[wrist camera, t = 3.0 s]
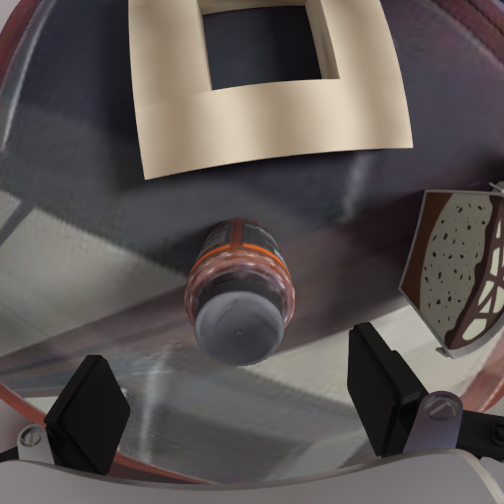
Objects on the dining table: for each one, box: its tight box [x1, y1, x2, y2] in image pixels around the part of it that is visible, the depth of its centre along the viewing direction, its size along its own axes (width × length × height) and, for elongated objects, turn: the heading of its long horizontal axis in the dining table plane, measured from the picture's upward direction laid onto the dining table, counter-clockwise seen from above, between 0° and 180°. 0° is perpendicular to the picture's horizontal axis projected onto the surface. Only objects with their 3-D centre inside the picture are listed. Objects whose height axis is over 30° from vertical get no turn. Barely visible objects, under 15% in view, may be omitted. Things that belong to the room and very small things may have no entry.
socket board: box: [129, 0, 413, 180], centre depth 17 cm, size 18×18×4 cm
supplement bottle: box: [184, 218, 295, 366], centre depth 18 cm, size 6×6×11 cm
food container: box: [398, 183, 504, 359], centre depth 19 cm, size 12×6×10 cm, turn 170°
